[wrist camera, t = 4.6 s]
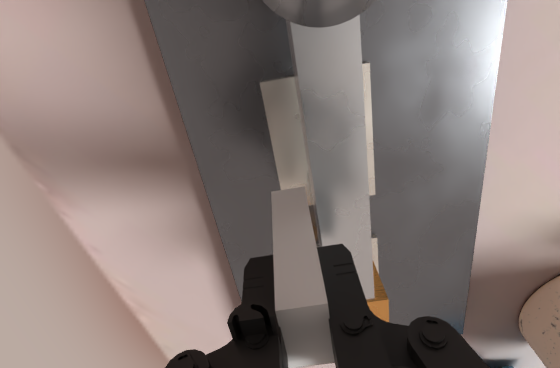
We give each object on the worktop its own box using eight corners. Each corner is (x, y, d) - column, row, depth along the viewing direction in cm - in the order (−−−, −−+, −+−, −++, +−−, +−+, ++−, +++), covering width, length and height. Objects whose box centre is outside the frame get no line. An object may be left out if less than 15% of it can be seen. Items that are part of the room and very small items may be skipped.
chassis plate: (121, -99, 14) (105, -109, 12) (512, -183, 13) (541, -204, 12) (261, 348, 27) (261, 367, 26) (454, 320, 27) (465, 338, 25)
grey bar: (237, -99, 13) (219, -159, 7) (347, -122, 12) (408, -201, 7) (305, 270, 22) (318, 361, 16) (369, 260, 21) (404, 349, 16)
